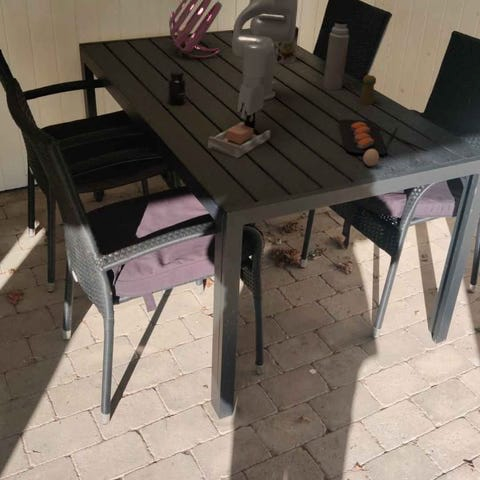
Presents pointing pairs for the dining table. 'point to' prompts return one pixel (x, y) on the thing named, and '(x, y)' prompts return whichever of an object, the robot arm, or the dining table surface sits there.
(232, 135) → the brown rectangular block
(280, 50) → the coffee box
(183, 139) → the dining table surface
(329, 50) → the thermos bottle
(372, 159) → the egg
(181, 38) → the spiral basket
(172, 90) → the supplement bottle
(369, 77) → the pepper mill
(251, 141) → the dock
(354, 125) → the sushi plate
